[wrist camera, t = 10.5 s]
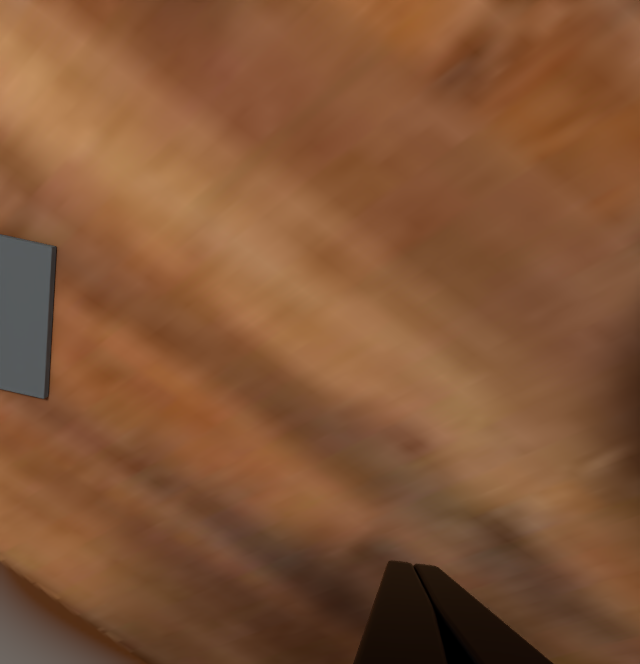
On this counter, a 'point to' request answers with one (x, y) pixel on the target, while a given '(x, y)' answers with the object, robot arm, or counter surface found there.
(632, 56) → the counter surface
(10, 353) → the slate mat
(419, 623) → the robot arm
